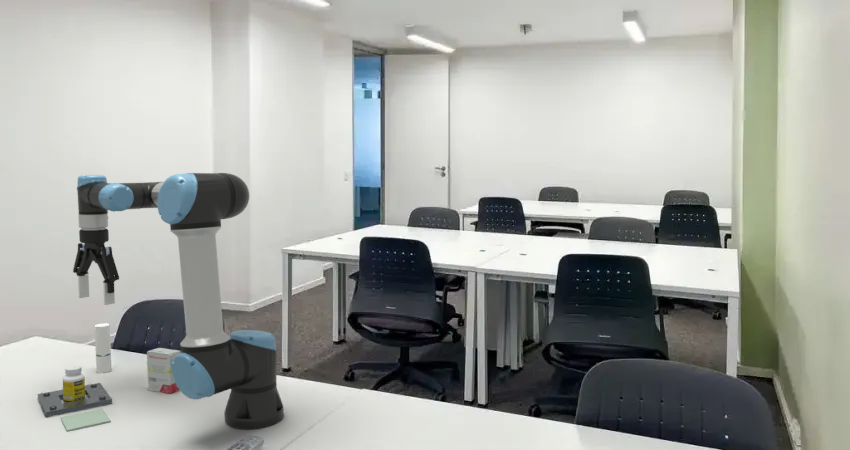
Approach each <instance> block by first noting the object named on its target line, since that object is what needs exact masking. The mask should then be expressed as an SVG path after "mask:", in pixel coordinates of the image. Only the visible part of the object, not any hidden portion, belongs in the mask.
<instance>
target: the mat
mask: <svg viewBox="0 0 850 450" xmlns="http://www.w3.org/2000/svg"><path fill="white" fill-rule="evenodd" d="M60 419H61V423H62V424H63V426H64V428H65V431H66V432H72V431H76V430H81V429H86V428H89V427H95V426H99V425H103V424H108V423H111V422H112V420H111V419H110V417H109V416H108V414H107V413H106V411H105V410H104V409H103V408H98V409H93V410H88V411H83V412H78V413H73V414H69V415H68V414H67V415H64V416H60Z"/></svg>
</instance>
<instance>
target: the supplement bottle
mask: <svg viewBox="0 0 850 450" xmlns="http://www.w3.org/2000/svg"><path fill="white" fill-rule="evenodd" d="M82 368H83V367H82V366H81V365H78V364H77V365H76V364H75V365H71V366H67V367H65V368H64V370H65V372H64V373H65V375H64V376H62V390H63V402H62V403H66V402H71V401H76V400H81V399H86V395H85V385H86V382H85V381H86V379H85V374H84V373H82V372H83V371H82Z"/></svg>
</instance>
